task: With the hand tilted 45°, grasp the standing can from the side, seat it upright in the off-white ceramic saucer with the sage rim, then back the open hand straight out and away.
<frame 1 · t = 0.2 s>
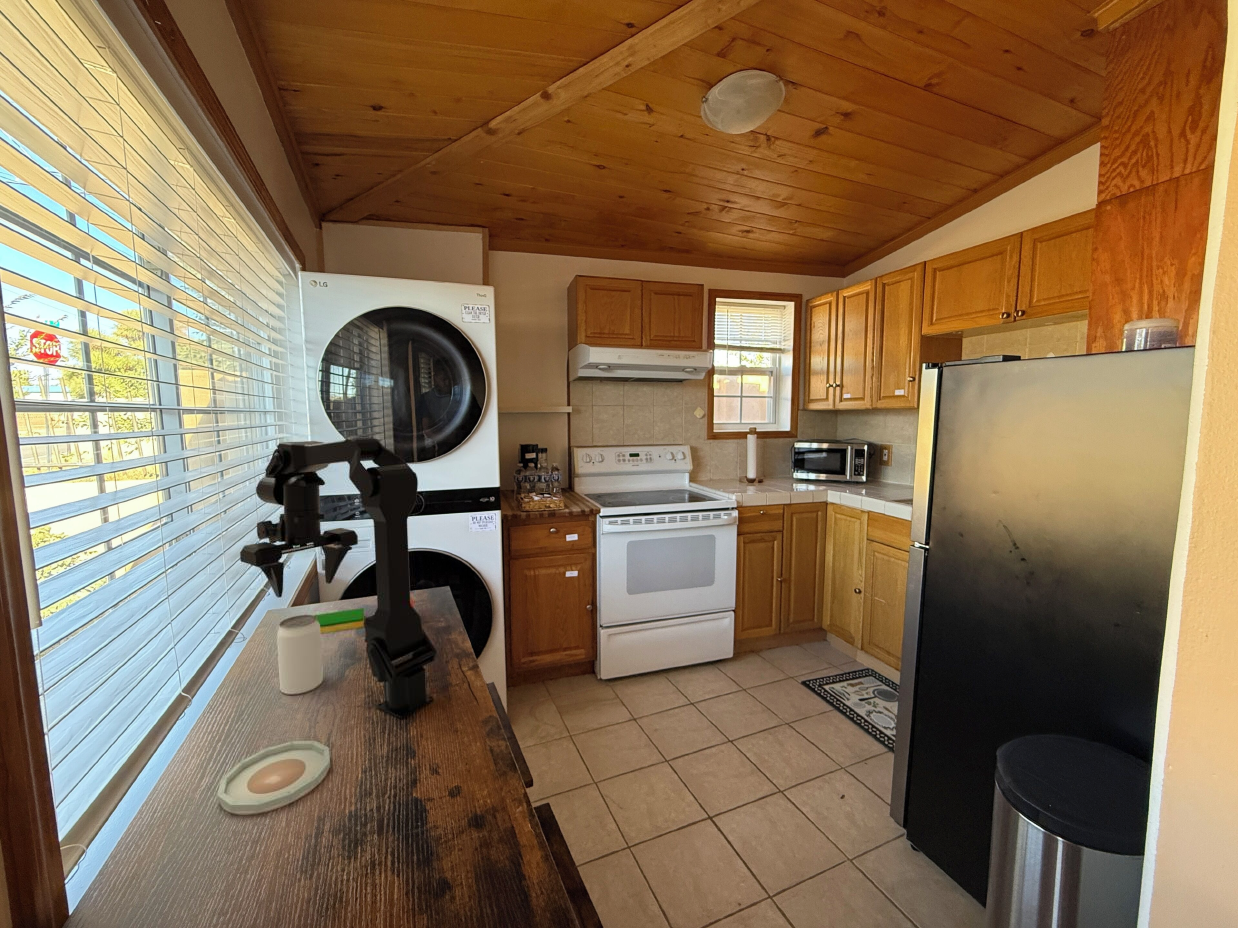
hand: (304, 589, 96), 15 cm above the table, tool pointing down, fingers open, 9 cm apart
saucer: (277, 779, 67), on the table
clementine: (399, 623, 118), on the table
dish sponge: (330, 628, 116), on the table
can: (302, 687, 90), on the table
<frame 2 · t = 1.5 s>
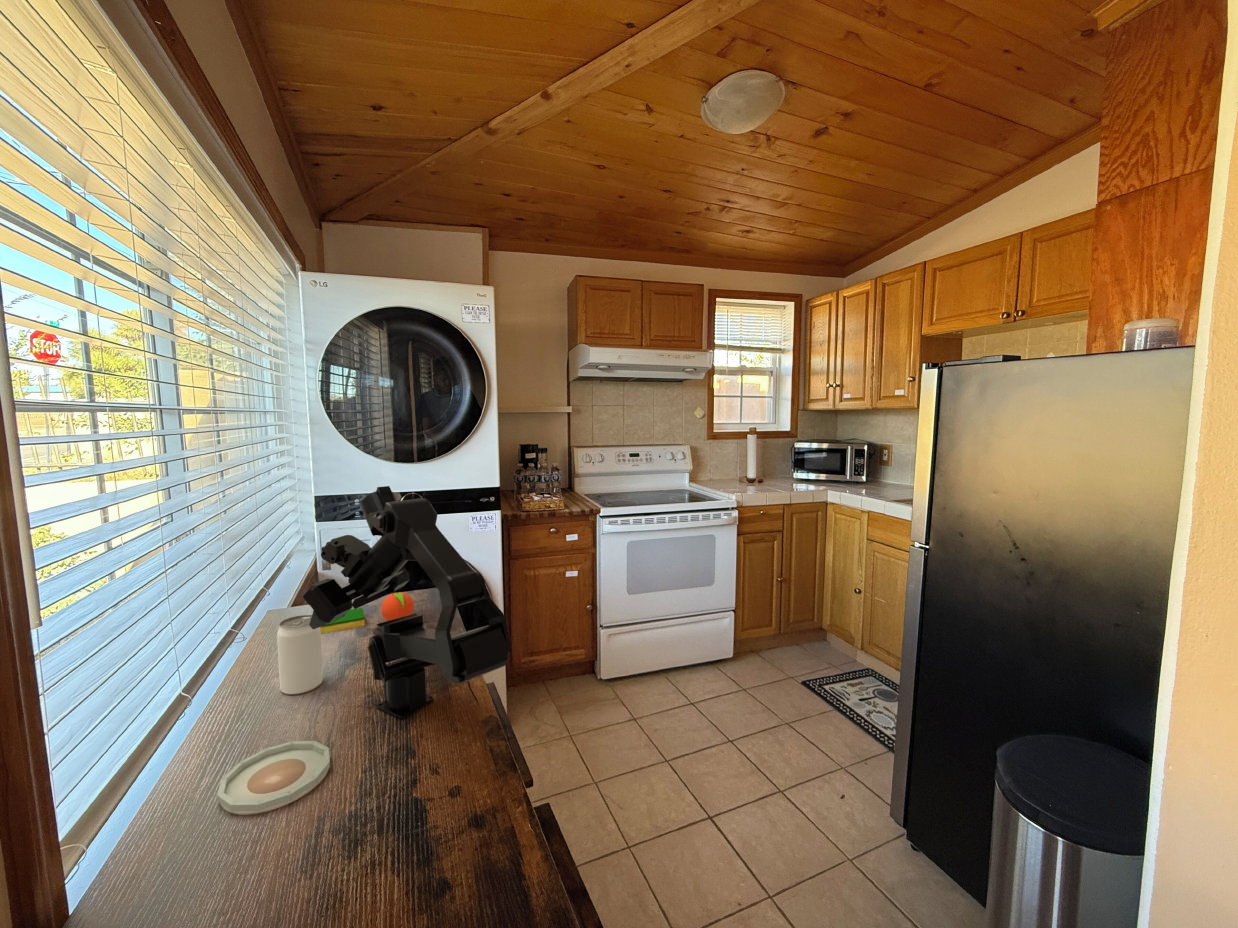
hand: (333, 616, 87), 14 cm above the table, tool tilted 45°, fingers open, 9 cm apart
nothing on the table moved.
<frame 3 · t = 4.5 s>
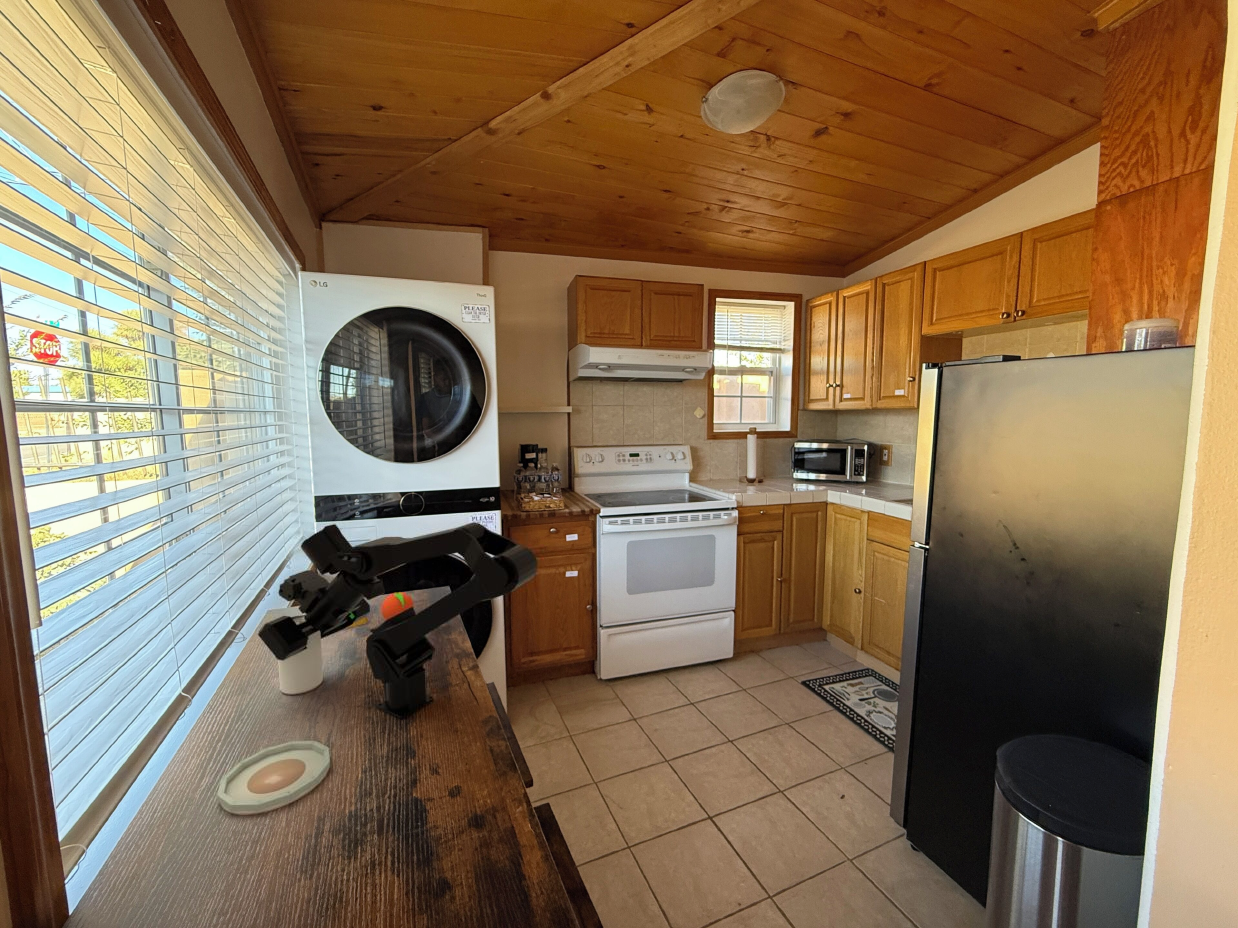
hand: (293, 648, 90), 7 cm above the table, tool tilted 45°, fingers closed on can, 6 cm apart
can: (302, 686, 90), on the table, touching gripper
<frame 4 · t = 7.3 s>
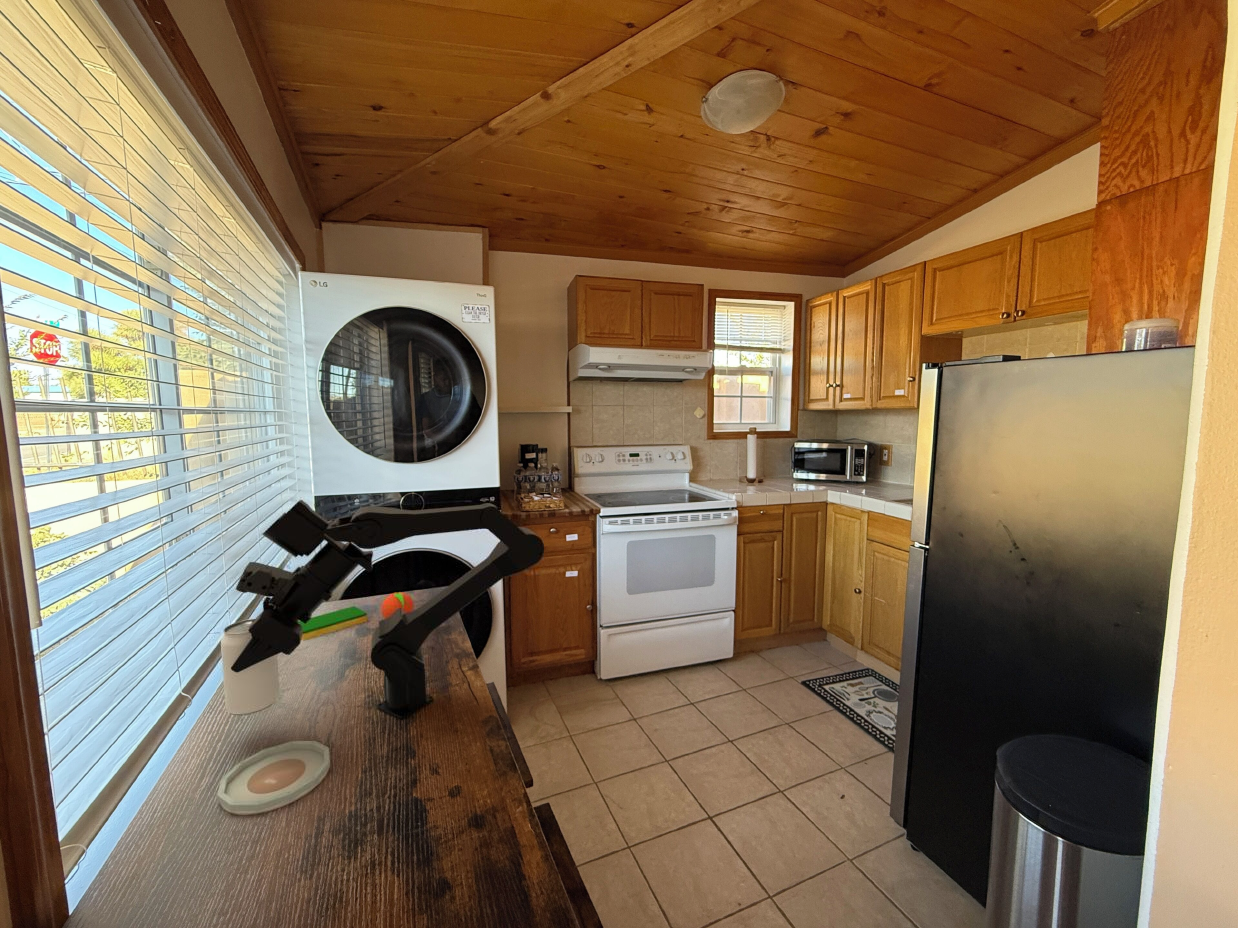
hand: (239, 660, 74), 12 cm above the table, tool tilted 45°, fingers closed on can, 6 cm apart
can: (253, 705, 75), point 5 cm above the table, touching gripper
when the fingers open (8 cm above the table, at t = 9.8 s): can stays where it is, resting on saucer.
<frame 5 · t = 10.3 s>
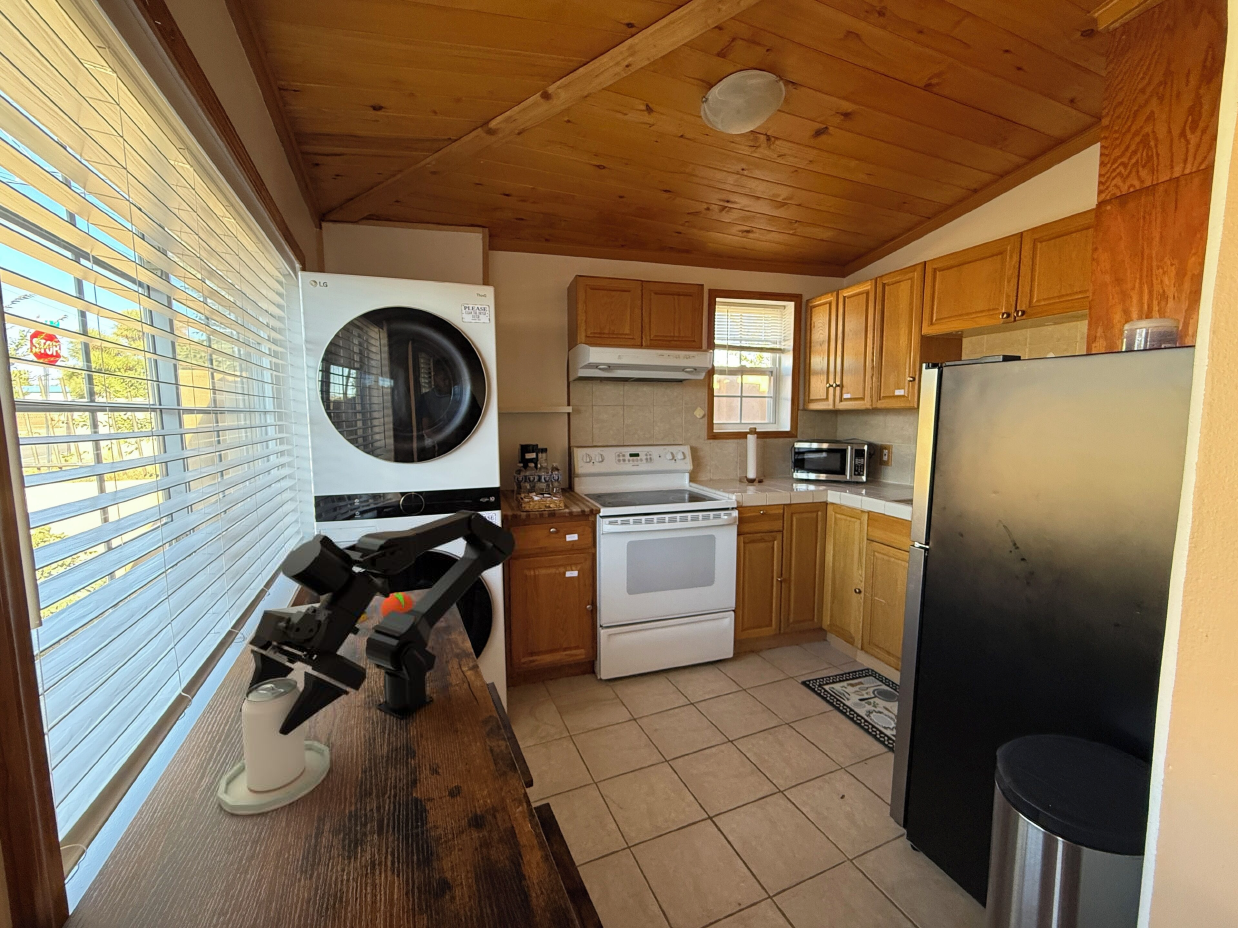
hand: (261, 723, 65), 9 cm above the table, tool tilted 45°, fingers open, 9 cm apart
can: (277, 777, 67), resting on saucer
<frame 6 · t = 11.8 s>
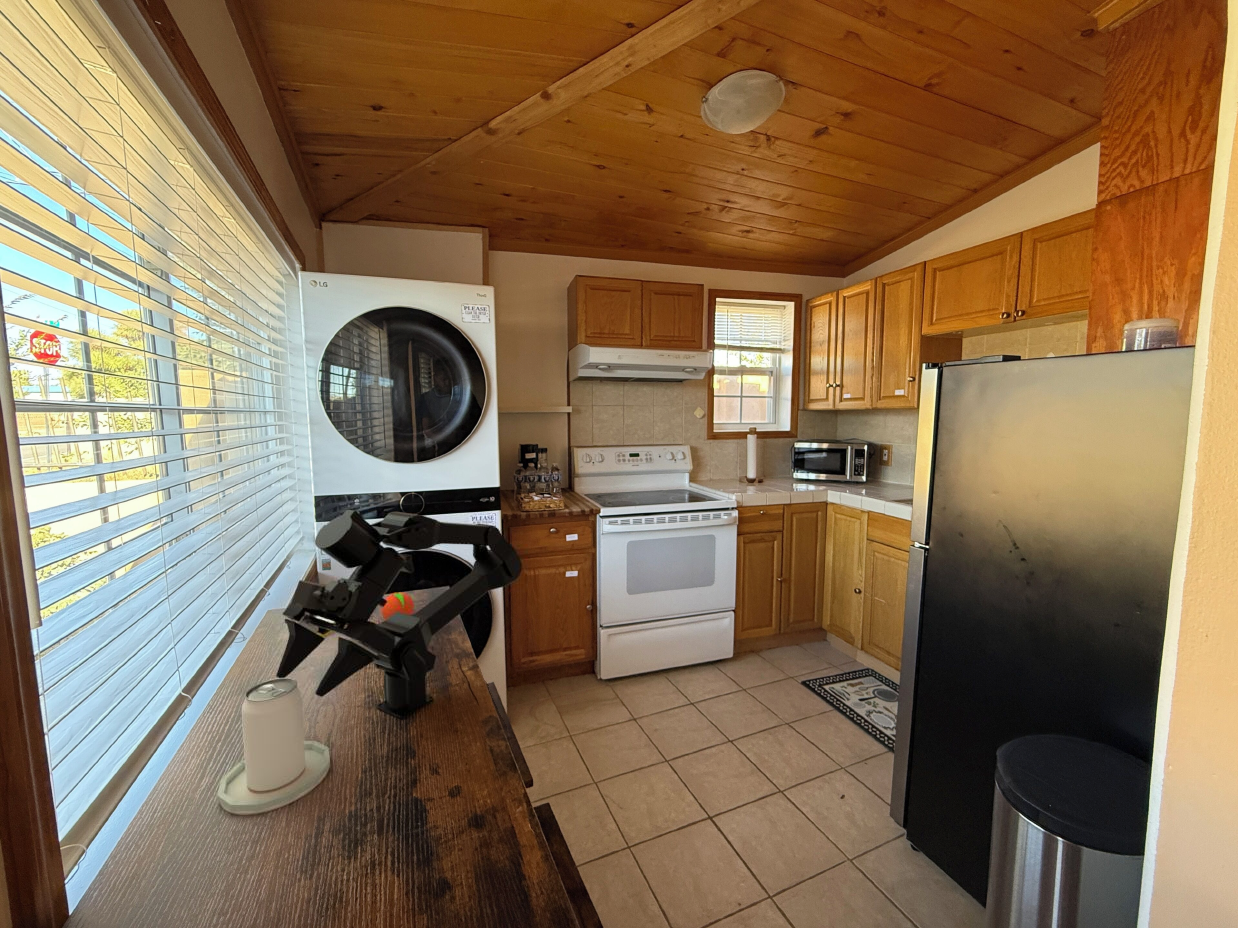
hand: (298, 686, 69), 11 cm above the table, tool tilted 45°, fingers open, 9 cm apart
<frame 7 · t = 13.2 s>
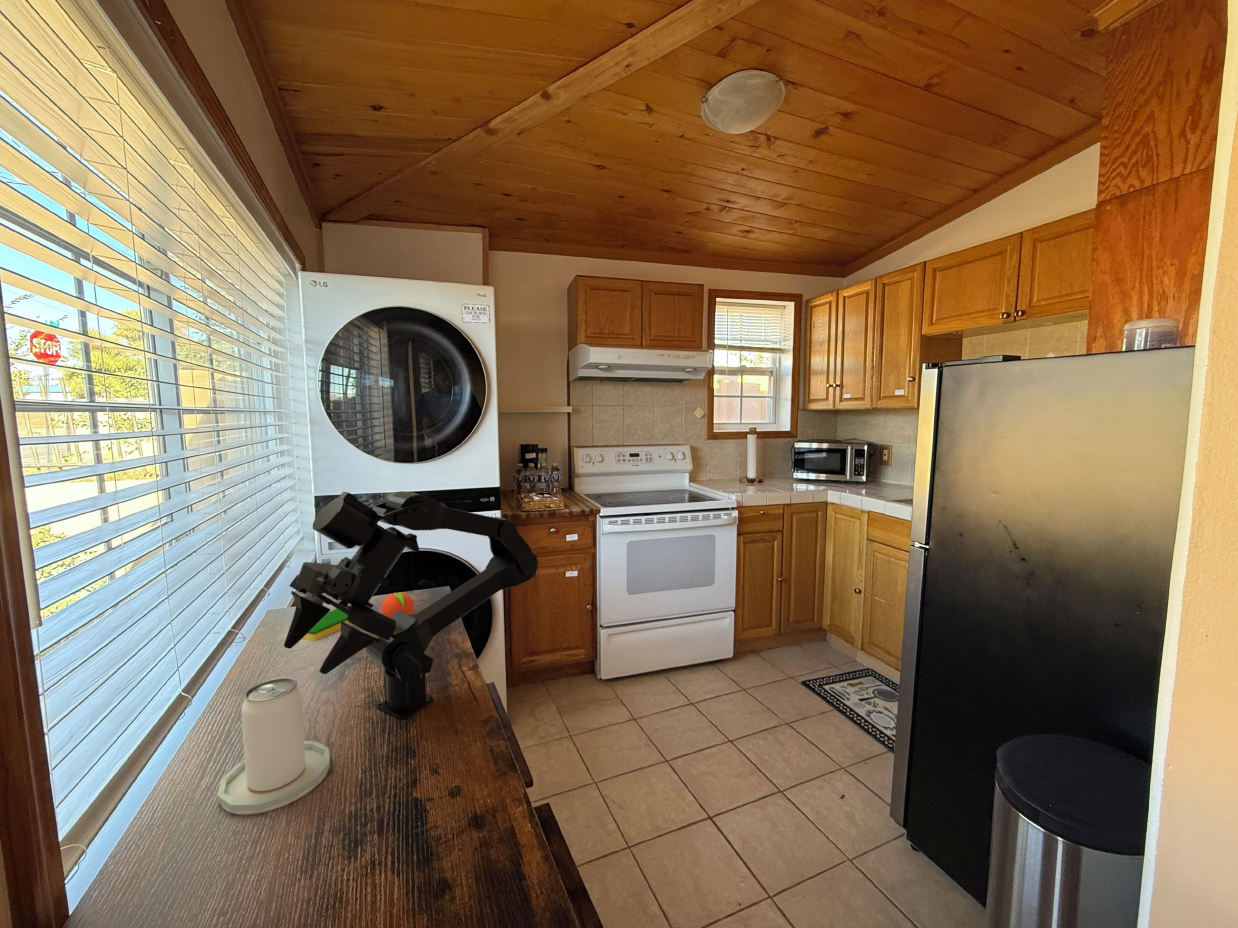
hand: (303, 659, 72), 13 cm above the table, tool tilted 40°, fingers open, 9 cm apart
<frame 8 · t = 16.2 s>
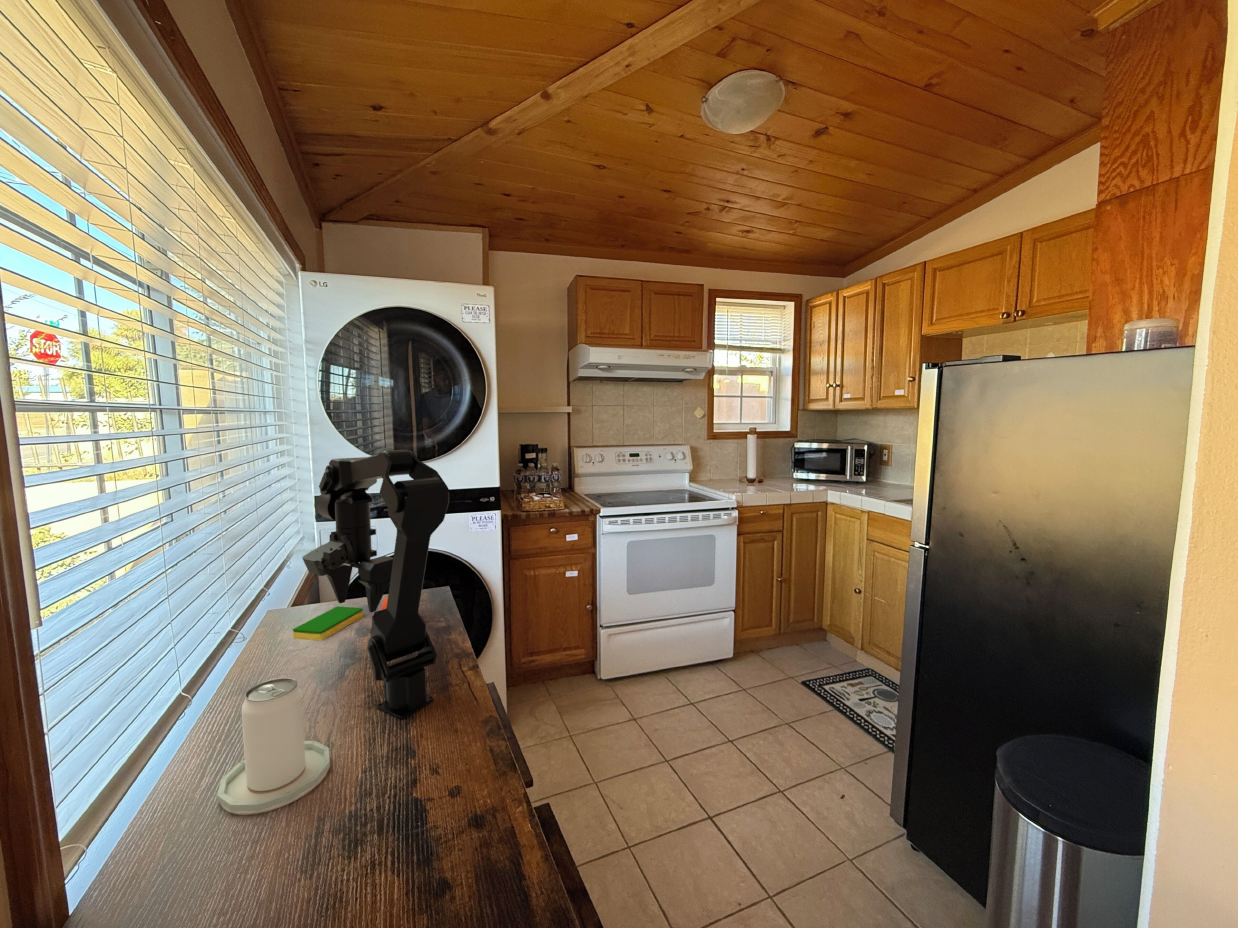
hand: (357, 606, 95), 12 cm above the table, tool pointing down, fingers open, 9 cm apart
at the end: can 0.2 cm from the saucer (horizontally); can tilted 0°; can touching saucer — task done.
